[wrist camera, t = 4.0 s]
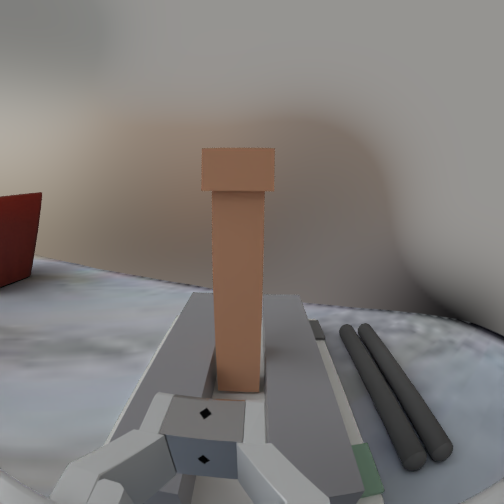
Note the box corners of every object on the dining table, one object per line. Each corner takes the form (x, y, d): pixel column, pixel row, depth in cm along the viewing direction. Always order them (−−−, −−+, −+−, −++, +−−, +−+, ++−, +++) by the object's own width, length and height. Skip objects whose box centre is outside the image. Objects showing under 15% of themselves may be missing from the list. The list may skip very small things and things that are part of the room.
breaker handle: (210, 395, 19) (202, 148, 15) (216, 367, 22) (212, 155, 19) (266, 397, 19) (274, 148, 15) (265, 369, 22) (271, 155, 18)
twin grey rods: (403, 478, 11) (412, 464, 11) (336, 334, 30) (338, 322, 30) (450, 461, 11) (460, 447, 11) (367, 333, 30) (370, 320, 30)
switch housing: (87, 496, 9) (58, 458, 8) (177, 323, 32) (175, 291, 32) (380, 513, 9) (409, 479, 8) (315, 326, 32) (318, 294, 31)
